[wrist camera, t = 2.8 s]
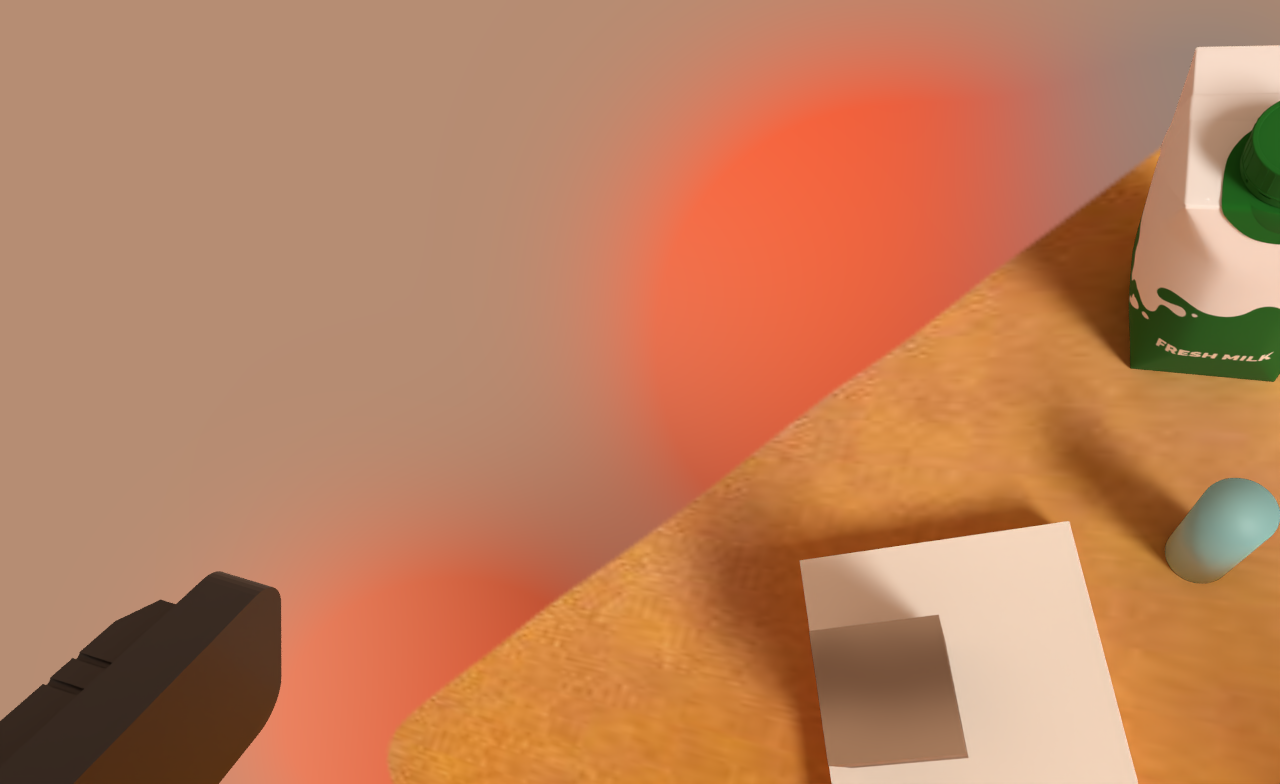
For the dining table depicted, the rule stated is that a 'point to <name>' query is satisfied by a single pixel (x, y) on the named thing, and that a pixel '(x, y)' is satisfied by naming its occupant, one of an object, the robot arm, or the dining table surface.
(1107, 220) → the dining table surface
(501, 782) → the dining table surface
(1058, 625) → the board
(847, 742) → the grey brown block
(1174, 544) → the peg
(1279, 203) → the milk carton
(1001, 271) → the dining table surface
